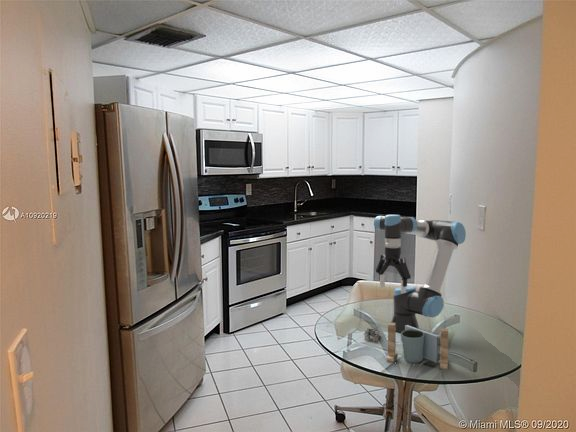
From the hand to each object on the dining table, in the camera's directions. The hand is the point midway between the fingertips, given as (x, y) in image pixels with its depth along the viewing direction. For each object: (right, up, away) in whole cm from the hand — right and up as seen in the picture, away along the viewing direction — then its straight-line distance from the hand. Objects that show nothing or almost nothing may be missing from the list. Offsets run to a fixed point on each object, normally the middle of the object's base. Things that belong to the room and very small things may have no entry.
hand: (392, 290), depth 213 cm
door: (+12, -29, -9) cm, 33 cm away
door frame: (+8, -30, -14) cm, 34 cm away
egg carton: (-7, -28, +16) cm, 33 cm away
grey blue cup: (+7, -29, -12) cm, 32 cm away
